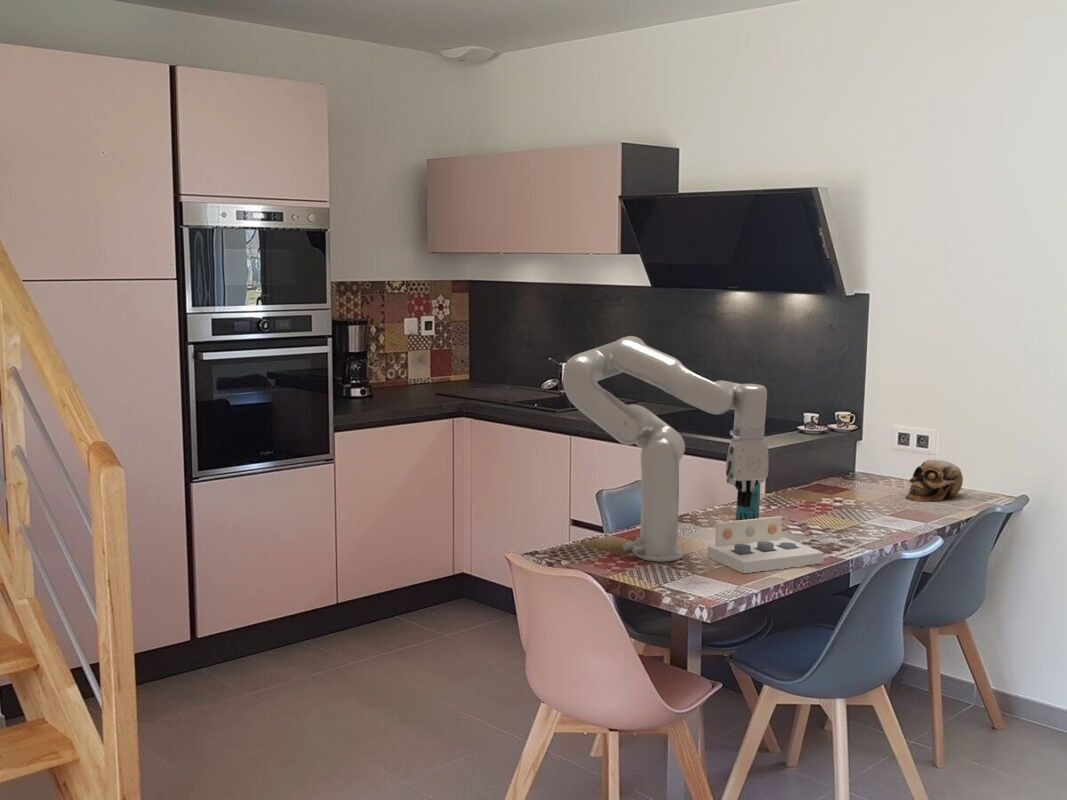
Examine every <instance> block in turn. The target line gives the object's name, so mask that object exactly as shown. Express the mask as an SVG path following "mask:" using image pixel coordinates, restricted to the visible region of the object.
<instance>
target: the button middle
mask: <svg viewBox="0 0 1067 800" xmlns="http://www.w3.org/2000/svg"><path fill="white" fill-rule="evenodd" d="M773 547H774V544H773V543H771V542H765V541H762V542H758V544H757V550H759V551H761V552H771V551H773Z"/></svg>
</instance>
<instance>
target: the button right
mask: <svg viewBox="0 0 1067 800" xmlns="http://www.w3.org/2000/svg"><path fill="white" fill-rule="evenodd" d="M780 548H783V549H785V550H788V549H796V544H793V543H787V542H784V543H780Z"/></svg>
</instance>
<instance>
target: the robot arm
mask: <svg viewBox="0 0 1067 800" xmlns="http://www.w3.org/2000/svg"><path fill="white" fill-rule="evenodd" d="M563 369H564V370H563V372H562V374H563V375H562V385H563V390H564V393H565V394H566V397H567V399H568V400H569V401H570V403H571V404H572V405H573V406H574V407H575V408H576V409H577V410H578V411H580V412H581V413H582V414H583V415H585V416H586V417H587V418H588V419H590V420H591V421H592V422H593V423H595V424H596V425H597V426H598V427H599V428H601V429H602V430H604V431H605V432H606V433H607V434H608V435H610V436H611V437H612V438H613V439H615V440H616V441H618V443H620V444H623V445H629V446H630V445H634V444H635V446H637V447H639V448H640V449H641V452H640V469H641V490H640V491H641V492H640V494H641V499H640V500H641V503H640V505H641V506H640V531H639V533H640V535H639V536H636V540H634V541H633V542H624V543H622V548H623V550H624V551H633V555H634V556H635V558H639V559H640V560H645V561H648V562H649V561H650V562H674V561H678V560H680V559H682V558H683V557H684V551H683V550H682V549H681V548H678V530H679V528H678V527H679V503H680V501H679V500H680V498H679V497H680V496H679V495H680V460H681V459H682V458H683V456H684V454H685V452H686V444H685V441H684V437H682V435H681V434H680V433H679V432H678V431H677V430H675V428H673V427H672V426H670V425H669V424H668V423H666V422H665V420H662V419H661V418H659V416H657V415H656V414H654V413H653V412H652V411H650V410H649V409H648V408H646V407H645V406H642V405H640V404H636V403H634V404H626V403H624V402H623V401H621V399H619V398H617V396H615V395H613V393H611V392H610V391H608V390H606V389H605V388H604V387H602V386H601V385H600V384H599V383H598V382H599V381H602V380H605V379H607V378H608V379H609V378H610V377H613V376H616V375H619V374H622V373H625V374H627V375H629V376H632V377H635V378H637V379H639V380H641V381H643V382H645V383H648V384H650V385H652V386H655V387H656V388H658V389H660V390H663V392H666V393H667V394H669V395H671V396H673V397H675V398H677V399H678V400H680V401H682V402H684V403H685V404H688V405H690V406H692V407H695V408H697V409H699V410H702V411H703V412H705V413H709V414H712V415H723V414H725V413H726V412H728V411H729V410H734V419H733V429H731V430H730V431H729V434H730V436H732V438H731V439H730V443H729V446H728V450H727V456H726V465H725V475H726V477H727V478H726V484H728V485H732V486H734V488H735V489H736V490H737V494H738V499H737V498H736V503H737V502H738V505H739V506H741V507H744V508H746V507H750V504H751V494H752V491H754V488H755V486H756V485H757V484H759V483H760V484H762V483H764V482H765V480H766V479H767V478H768V477H769V476H768V475H769V448H768V442H767V439H765V430H766V429H765V426H766V415H767V414H766V413H767V398H768V390H767V388H766V387H765V386H764V385H762V384H756V383H737V382H733V381H727V380H717V381H713V380H710V379H707V378H705V377H704V376H702V375H698V374H696V373H695V372H693V371H691V370H689V368H687V367H686V366H684V364H682V362H681V361H680V360H679V359H678V358H676V357H674V356H671V355H669V354H668V353H665V352H662V351H660V350H659V349H655V348H653V347H651V346H649V345H647V344H646V343H645V342H644V340H642V339H641V338H640V337H637V336H634V335H629V336H628V335H627V336H624V337H621V338H619V339H617V340H615V341H613V342H610V343H607V344H603V345H601V346H598V347H596V348H592V349H588V350H586V351H583V352H580V353H577V354H575V355H573V356H571V358H570V359H568V361H567V362H566V364H565V365H564V368H563Z"/></svg>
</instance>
